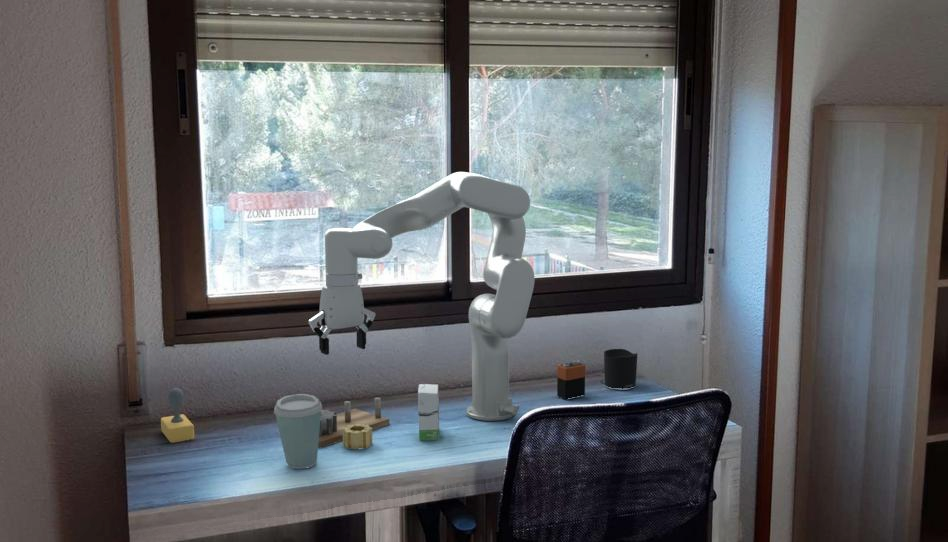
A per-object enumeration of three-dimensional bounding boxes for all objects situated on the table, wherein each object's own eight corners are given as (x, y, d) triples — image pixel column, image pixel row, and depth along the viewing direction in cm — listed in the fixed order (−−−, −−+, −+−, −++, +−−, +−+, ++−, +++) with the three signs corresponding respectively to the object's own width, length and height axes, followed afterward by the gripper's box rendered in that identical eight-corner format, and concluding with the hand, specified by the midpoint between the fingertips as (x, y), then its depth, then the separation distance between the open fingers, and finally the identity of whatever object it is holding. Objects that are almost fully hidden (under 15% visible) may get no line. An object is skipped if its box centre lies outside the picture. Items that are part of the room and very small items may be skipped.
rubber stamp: (194, 439, 228) (192, 391, 226) (170, 443, 225) (167, 395, 223) (184, 427, 237) (182, 381, 235) (161, 431, 234) (158, 385, 232)
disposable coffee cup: (329, 469, 207) (326, 403, 205) (280, 476, 204) (277, 409, 201) (319, 453, 217) (317, 390, 215) (272, 459, 214) (269, 396, 211)
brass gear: (378, 444, 223) (378, 427, 223) (356, 451, 218) (356, 435, 218) (358, 437, 228) (358, 421, 227) (337, 445, 223) (336, 428, 222)
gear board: (389, 424, 237) (388, 398, 236) (321, 447, 221) (320, 420, 220) (354, 414, 246) (354, 389, 245) (286, 435, 230) (285, 409, 229)
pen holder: (603, 390, 265) (603, 356, 264) (604, 381, 274) (604, 348, 273) (636, 392, 264) (637, 357, 262) (636, 382, 273) (637, 349, 271)
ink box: (439, 440, 225) (438, 393, 224) (418, 441, 225) (417, 393, 223) (439, 428, 234) (438, 382, 232) (419, 429, 234) (418, 383, 232)
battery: (585, 396, 260) (586, 361, 258) (566, 400, 256) (566, 365, 255) (575, 392, 263) (576, 358, 262) (556, 396, 260) (556, 361, 258)
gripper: (366, 274, 230) (367, 343, 233) (301, 281, 221) (303, 352, 223) (381, 279, 224) (382, 349, 227) (315, 286, 215) (317, 359, 217)
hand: (343, 350), depth 225 cm, fingers open, 9 cm apart
